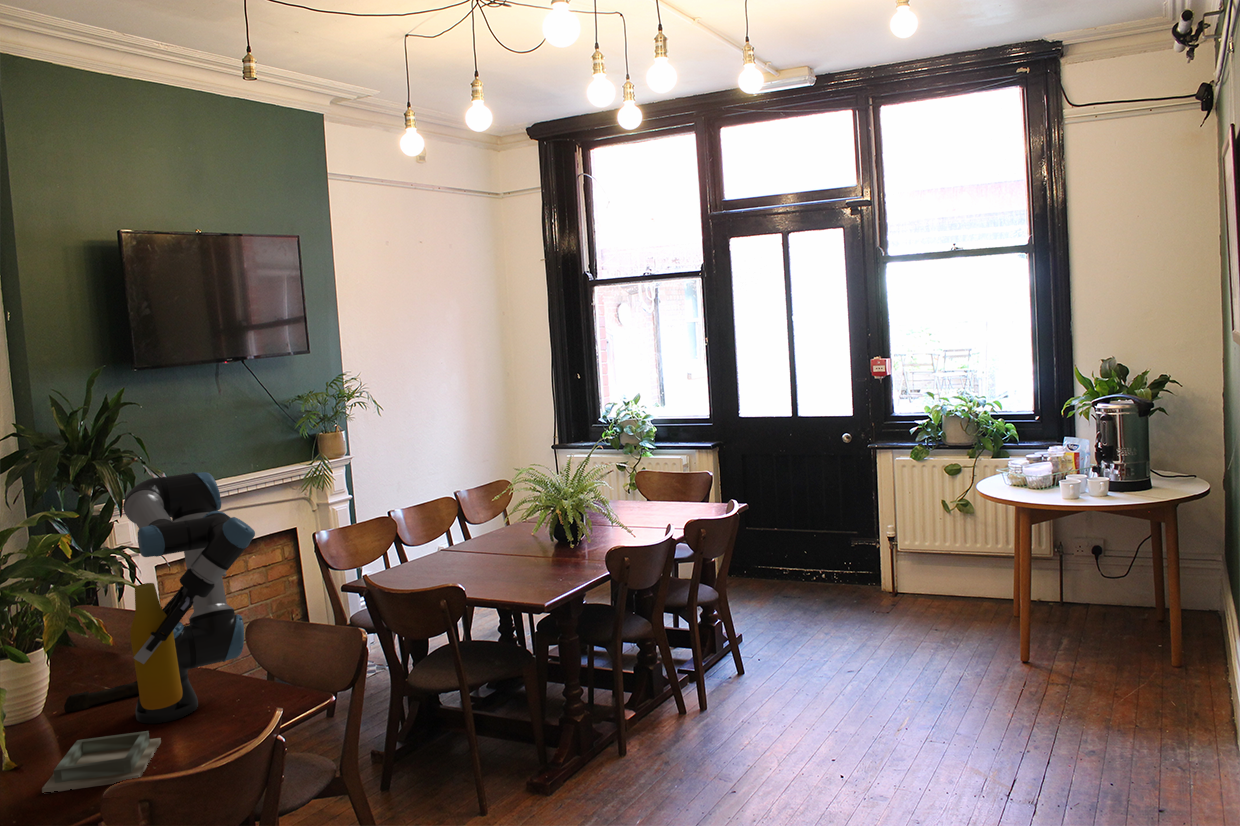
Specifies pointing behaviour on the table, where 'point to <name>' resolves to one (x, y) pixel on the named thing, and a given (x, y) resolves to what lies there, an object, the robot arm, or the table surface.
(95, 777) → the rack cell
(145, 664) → the beer bottle
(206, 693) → the table surface
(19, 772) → the table surface
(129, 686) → the hand tool
